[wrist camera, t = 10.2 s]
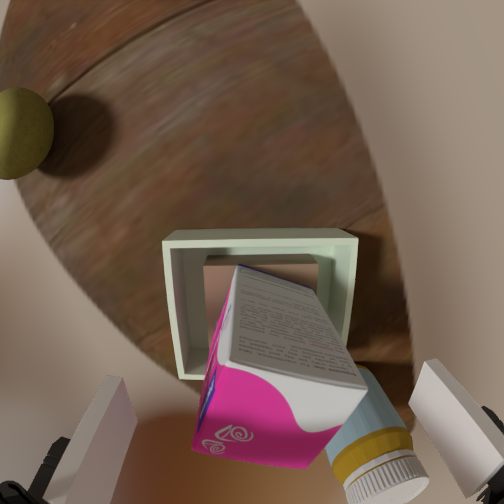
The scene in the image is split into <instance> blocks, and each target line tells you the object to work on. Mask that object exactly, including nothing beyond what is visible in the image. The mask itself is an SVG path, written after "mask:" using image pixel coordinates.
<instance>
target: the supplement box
mask: <svg viewBox="0 0 504 504" xmlns="http://www.w3.org/2000/svg"><path fill="white" fill-rule="evenodd" d="M367 392H368V387H367V385H366V383H365V381H364V379H363V377H362V376H361V374H360V372H359V370H358V368H357V367H356V365H355V363H354V361H353V359H352V358H351V356H350V354H349V352H348V351H347V349H346V347H345V345H344V343H343V342H342V340H341V338H340V337H339V335H338V333H337V331H336V330H335V328H334V326H333V324H332V322H331V321H330V319H329V317H328V315H327V314H326V312H325V310H324V308H323V307H322V305H321V303H320V302H319V300H318V298H317V297H316V295H315V293H314V291H313V290H312V288H311V287H308V286H306V285H302V284H299V283H296V282H293V281H290V280H287V279H284V278H281V277H277V276H275V275H272V274H269V273H266V272H263V271H260V270H257V269H254V268H251V267H248V266H245V265H242V264H237V265H236V268H235V272H234V275H233V279H232V282H231V285H230V288H229V291H228V294H227V297H226V299H225V302H224V305H223V308H222V311H221V314H220V316H219V319H218V322H217V324H216V327H215V329H214V332H213V337H212V342H211V347H210V352H209V357H208V362H207V367H206V372H205V377H204V383H203V388H202V392H201V398H200V404H199V409H198V414H197V420H196V425H195V431H194V435H193V441H192V447H191V449H192V450H194V451H197V452H201V453H205V454H209V455H213V456H218V457H223V458H228V459H234V460H240V461H245V462H251V463H257V464H264V465H272V466H279V467H288V468H297V469H306V468H307V467H308V466H309V465H310V464H311V463H312V462H313V460H314V459H315V458H316V457H317V456H318V454H319V453H320V452H321V451H322V450H323V449H324V448H325V447H326V445H327V444H328V443H329V442H330V441H331V439H332V438H333V437H334V436H335V435H336V433H337V432H338V431H339V429H340V428H341V427H342V426H343V424H344V423H345V422H346V421H347V419H348V418H349V417H350V415H351V414H352V413H353V411H354V410H355V408H356V407H357V406H358V404H359V403H360V401H361V400H362V399H363V397H364V396H365V394H366V393H367Z"/></svg>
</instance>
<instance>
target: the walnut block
mask: <svg viewBox="0 0 504 504" xmlns="http://www.w3.org/2000/svg"><path fill="white" fill-rule="evenodd" d="M237 264H242V265H245V266H248V267H251V268H254V269H257V270H260V271H263V272H266V273H269V274H272V275H275V276H277V277H281V278H284V279H287V280H290V281H293V282H296V283H299V284H302V285H306V286H308V287H311V288H312V290H313V291H314V293H315V295H316V296H317V281H318V263H317V262H316V260H315V259H314V258H313V257H312V256H311V255H310V254H309V253H307V254H250V255H208V256H207V258H206V260H205V263H204V265H203V273H204V289H205V304H206V318H207V330H208V342H209V352H210V347H211V342H212V337H213V332H214V329H215V327H216V324H217V322H218V319H219V316H220V314H221V311H222V308H223V305H224V302H225V299H226V297H227V294H228V291H229V288H230V285H231V282H232V279H233V275H234V272H235V268H236V265H237Z"/></svg>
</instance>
